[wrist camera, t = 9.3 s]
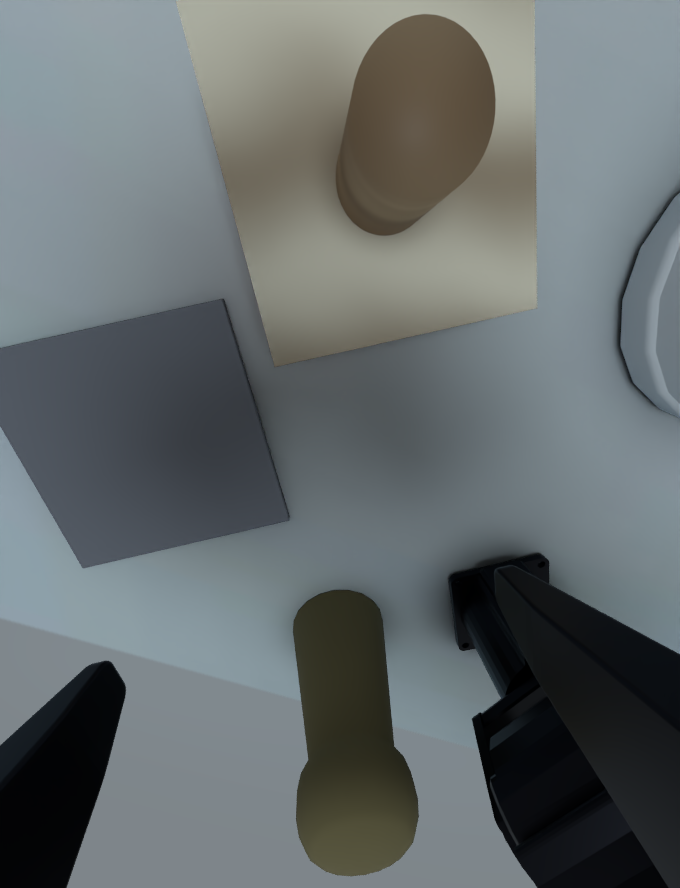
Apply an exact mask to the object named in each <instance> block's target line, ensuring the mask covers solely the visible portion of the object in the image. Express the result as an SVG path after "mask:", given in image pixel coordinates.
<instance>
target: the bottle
mask: <svg viewBox="0 0 680 888" xmlns="http://www.w3.org/2000/svg"><path fill="white" fill-rule="evenodd" d="M620 347H621V349H622V352H623V355H624V358H625V361H626V364H627V367H628V370H629V373H630V376H631V378H632V381H633V383H634V384H635V385H636V386H637V387H638V388H639V389H640V390H641V391H642V392H643V393H644V394H645V395H646V396H647V397H648V398H649V399H650V400H651V401H652V402H653V403H654V404H655V405H656V406H657V407H658V408H659V409H661V410H663V411H665V412H667V413H670V414H672V415H674V416H676V417H679V418H680V193H679V194H678V195H677V196H676V197H674V198H673V200H672V201H671V203H670V204H669V206H668V207H667V209H666V210H665V212H664V213H663V215H662V216H661V218H660V219H659V221H658V222H657V224H656V225H655V227H654V228H653V230H652V231H651V233H650V234H649V236H648V237H647V239H646V240H645V242H644V243H643V245H642V246H641V248H640V250H639V253H638V256H637V259H636V262H635V265H634V268H633V271H632V274H631V277H630V279H629V282H628V285H627V288H626V291H625V294H624V297H623V300H622V321H621V344H620Z"/></svg>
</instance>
